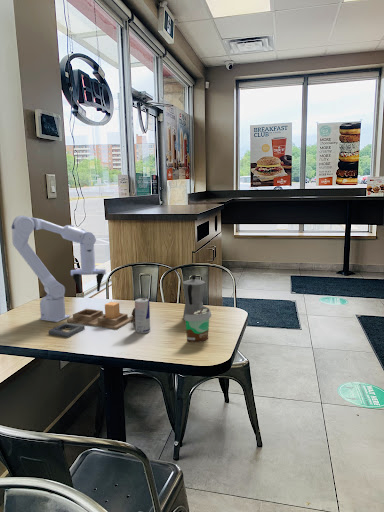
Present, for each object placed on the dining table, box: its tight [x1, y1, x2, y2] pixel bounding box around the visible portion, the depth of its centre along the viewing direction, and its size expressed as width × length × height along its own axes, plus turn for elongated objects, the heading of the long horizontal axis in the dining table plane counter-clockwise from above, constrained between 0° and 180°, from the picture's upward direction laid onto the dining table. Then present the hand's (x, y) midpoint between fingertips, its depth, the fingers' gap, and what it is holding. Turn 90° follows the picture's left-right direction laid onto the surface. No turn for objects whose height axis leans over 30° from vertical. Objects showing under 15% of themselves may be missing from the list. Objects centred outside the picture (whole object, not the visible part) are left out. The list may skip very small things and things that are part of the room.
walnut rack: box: [66, 308, 134, 330], centre depth 155 cm, size 24×12×3 cm, turn 67°
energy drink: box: [134, 297, 151, 334], centre depth 142 cm, size 5×5×12 cm
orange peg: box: [104, 301, 121, 319], centre depth 152 cm, size 4×4×7 cm
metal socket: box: [48, 322, 86, 339], centre depth 143 cm, size 9×9×2 cm
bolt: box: [131, 307, 135, 324], centre depth 155 cm, size 6×5×15 cm
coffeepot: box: [182, 274, 206, 320], centre depth 155 cm, size 15×9×18 cm, turn 168°
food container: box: [183, 305, 212, 343], centre depth 134 cm, size 12×6×10 cm, turn 148°
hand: (89, 291), depth 165 cm, fingers open, 7 cm apart
